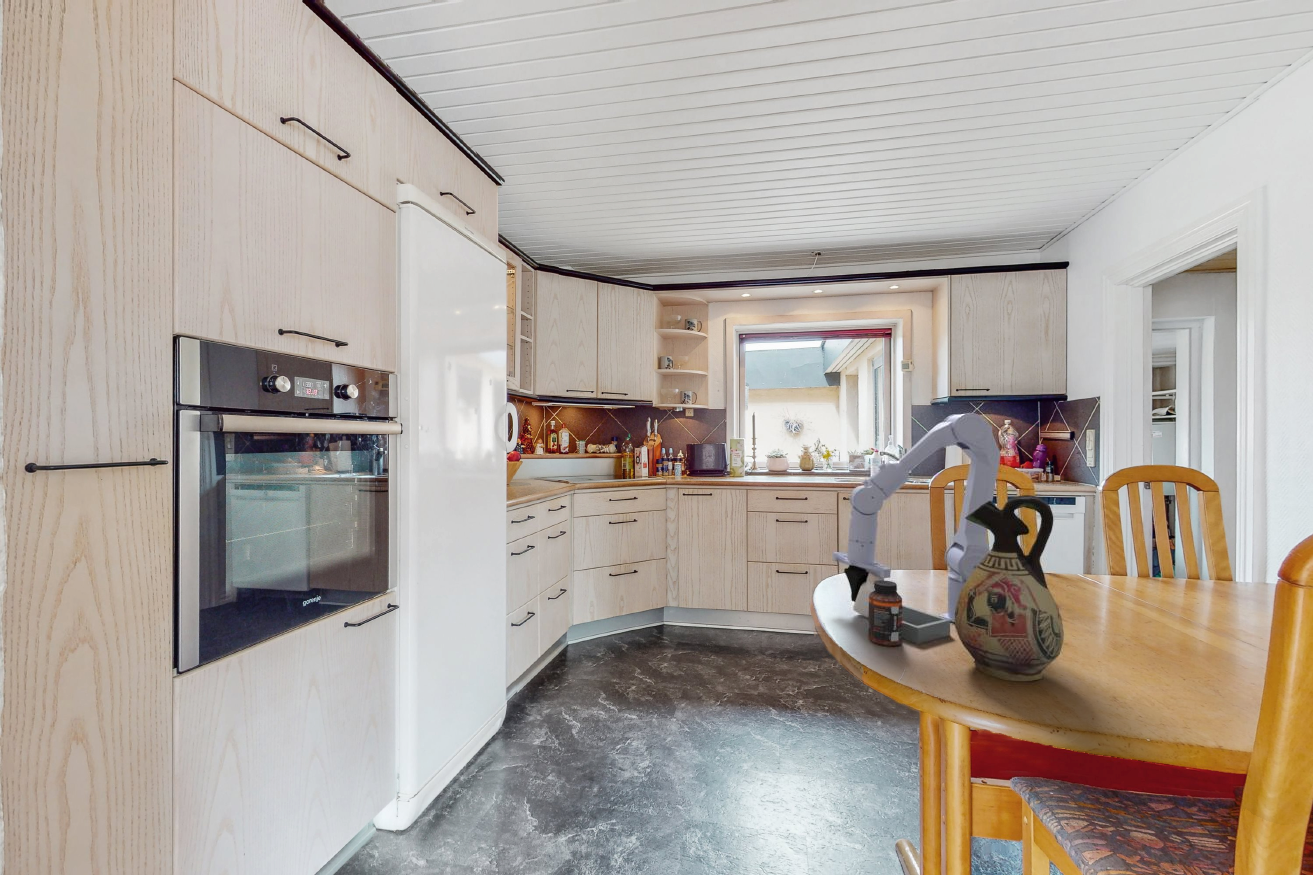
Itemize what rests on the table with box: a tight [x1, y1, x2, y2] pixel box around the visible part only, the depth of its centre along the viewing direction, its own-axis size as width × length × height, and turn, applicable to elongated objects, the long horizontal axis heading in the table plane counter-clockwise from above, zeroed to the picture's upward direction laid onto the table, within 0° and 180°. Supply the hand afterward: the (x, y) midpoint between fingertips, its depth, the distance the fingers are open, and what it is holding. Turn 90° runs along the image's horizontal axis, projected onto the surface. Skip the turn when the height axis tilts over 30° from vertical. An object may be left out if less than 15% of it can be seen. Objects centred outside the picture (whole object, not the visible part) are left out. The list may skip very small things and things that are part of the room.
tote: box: [902, 604, 951, 645], centre depth 111 cm, size 10×11×3 cm
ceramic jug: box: [954, 494, 1065, 682], centre depth 92 cm, size 17×15×30 cm
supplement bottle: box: [867, 579, 903, 647], centre depth 106 cm, size 6×6×11 cm
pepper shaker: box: [852, 571, 885, 619], centre depth 119 cm, size 4×4×10 cm
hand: (857, 601), depth 122 cm, fingers closed, pressing on pepper shaker
